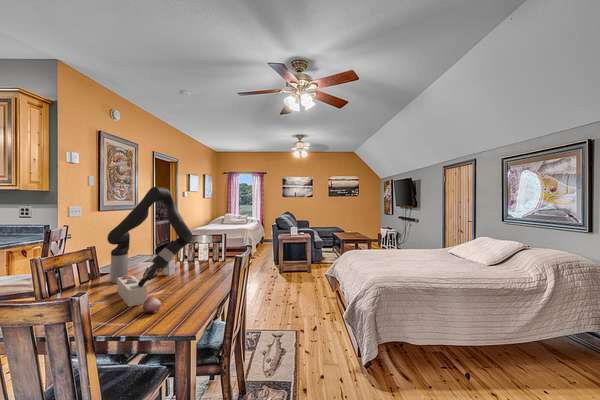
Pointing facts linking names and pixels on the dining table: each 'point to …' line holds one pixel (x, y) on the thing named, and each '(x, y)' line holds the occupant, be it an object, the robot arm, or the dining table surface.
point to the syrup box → (170, 268)
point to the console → (131, 292)
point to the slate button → (130, 281)
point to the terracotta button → (126, 277)
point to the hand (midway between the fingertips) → (139, 285)
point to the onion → (151, 305)
